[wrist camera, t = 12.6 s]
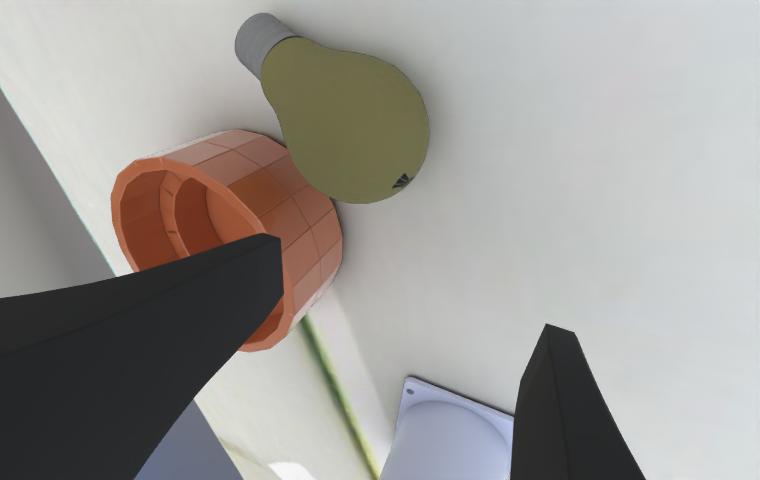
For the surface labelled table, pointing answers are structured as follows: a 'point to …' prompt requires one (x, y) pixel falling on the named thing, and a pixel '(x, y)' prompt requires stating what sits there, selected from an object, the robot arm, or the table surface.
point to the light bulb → (338, 112)
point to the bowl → (230, 215)
